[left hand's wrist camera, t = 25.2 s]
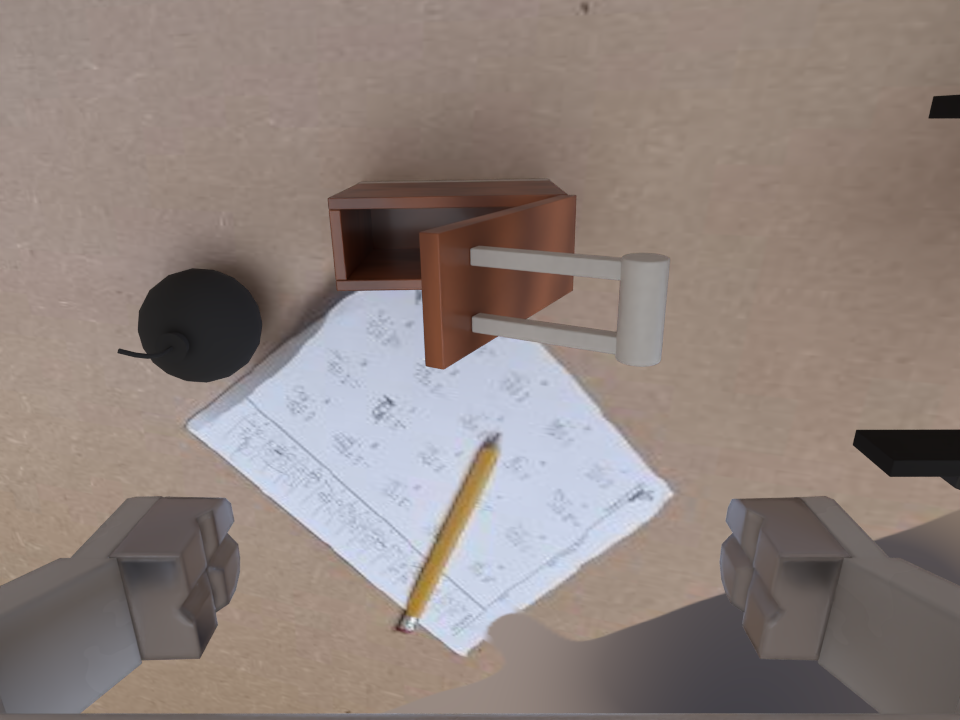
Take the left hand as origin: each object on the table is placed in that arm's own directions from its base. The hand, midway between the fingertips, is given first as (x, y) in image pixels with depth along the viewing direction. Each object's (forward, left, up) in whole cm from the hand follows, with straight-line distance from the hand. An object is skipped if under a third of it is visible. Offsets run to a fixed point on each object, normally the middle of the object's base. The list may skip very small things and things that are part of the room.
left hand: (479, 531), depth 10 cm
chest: (-2, 0, -38) cm, 38 cm away
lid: (+1, 0, -21) cm, 21 cm away
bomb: (-20, -6, -38) cm, 43 cm away
